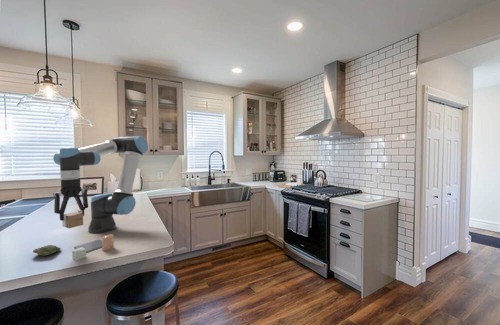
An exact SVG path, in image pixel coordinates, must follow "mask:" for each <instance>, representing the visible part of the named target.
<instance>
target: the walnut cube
mask: <svg viewBox="0 0 500 325" xmlns="http://www.w3.org/2000/svg"><path fill="white" fill-rule="evenodd" d="M66 223H67V227H65V228H67V229H72V228H76V227H80V226H83V225H84V216H83V213H81V212H78V211H72V212H68V213H66Z"/></svg>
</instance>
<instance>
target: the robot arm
mask: <svg viewBox="0 0 500 325" xmlns="http://www.w3.org/2000/svg"><path fill="white" fill-rule="evenodd" d="M148 148H149V145H148V142H147V140H146V138H145V137H144V136H139V135H131V136H118V137H114V138H111V139H107V140H105V142H101V143H96V144H92V145H89V146H84V147H81V148H78V147H61V148H59V151H57V152H56V153H54V155H53V158H52V159H53V162H54V163H55V164H56V165H59V168H60V169H59V170H60V172H59V173H60V174H59V175H60V179H61V180H60V191H57V192H53V193H52V195H53V197H54V203H53V204H54V207H53V208H54V209H53V213H55V214H57V215H59V221H62V222H61V223H62V224H61V225H62V227H63V228H66V227H67V223H66V214H67V213H66V209H67V205H68V203H69V200H70V199H71V198H73V199H75V202H76V204H77V206H78V208H79V209H78V210H77V212H81V213H83V217H84V216H85V210H86V209H88V208H89V200H88V190H89V189H87V188H82V187H81V179H80V178H81V168H80V167H84V166H95V165H98V164H100V162H101V160H102V159H101V156H104V155H105V156H106V155H108V154H109V155H110V154H111V155H112V154H113V155H114V154H118V153H119V154H123V155H124V160H123V163H122V169H121V172H120V175H119V180H118V185H117V188H116V189H115V191H113V193H111V192H109V193H104V194H103V193H102V194H96V195H93V196H91V198H90V213H91V216H90V218H91V219H90V222H89V225H88V228H87V232H88V233H91V234H102V233H107V232H111V231H113V230H115V229H116V228H117V224H116V221H115V219H114V215H119V216H122V215H129V214H131V212H133V211H134V210H135V207H136V203H137V202H136V199H135V197H134V194H133V192H132V191H133V187H134V183H135V179H136V174H137V169H138V165H139V161H140V158H142V157H143V154H144V153H147V152H148V150H149V149H148ZM80 193H81V197H82V199H81V197H80ZM61 195H63V197H62V202H61Z"/></svg>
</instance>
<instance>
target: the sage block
mask: <svg viewBox="0 0 500 325" xmlns="http://www.w3.org/2000/svg"><path fill="white" fill-rule="evenodd" d="M71 257H72V259H73V260H75V261H78V260H82V259H84V258H87V253H86V249H85V248H82V247H81V248H78V249H75V248H74V249H72V250H71Z"/></svg>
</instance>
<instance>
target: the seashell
mask: <svg viewBox="0 0 500 325" xmlns="http://www.w3.org/2000/svg"><path fill="white" fill-rule="evenodd" d="M60 250H62V249H61V247H59V246H56V245H54V244H48V245H45V246H41V247H38V248H34V249H33V251H32V253H34V254H37V255H38V256H43V257H46V256H50V255H52V254H54V253H56V252H59V251H60Z"/></svg>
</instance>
